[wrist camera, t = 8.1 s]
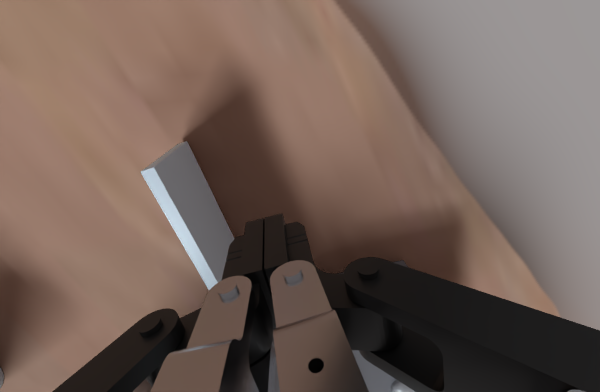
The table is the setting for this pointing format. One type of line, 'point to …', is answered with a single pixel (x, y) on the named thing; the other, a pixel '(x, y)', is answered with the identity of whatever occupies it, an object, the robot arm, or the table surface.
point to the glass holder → (1, 377)
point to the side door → (191, 210)
